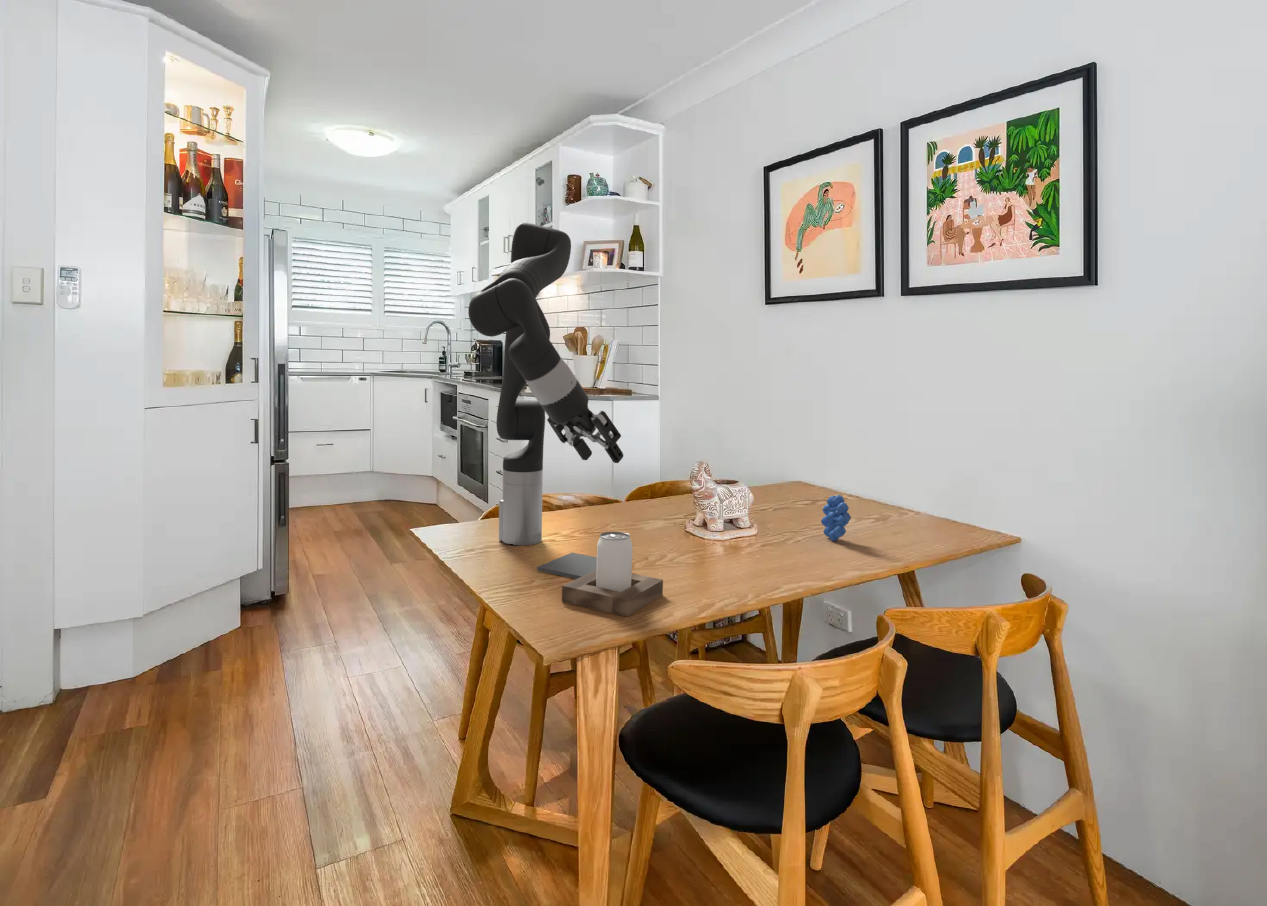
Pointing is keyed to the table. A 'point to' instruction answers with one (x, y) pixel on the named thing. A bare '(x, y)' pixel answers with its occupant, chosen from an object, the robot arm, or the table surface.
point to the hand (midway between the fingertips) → (603, 458)
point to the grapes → (835, 517)
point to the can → (614, 561)
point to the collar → (612, 594)
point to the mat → (570, 565)
